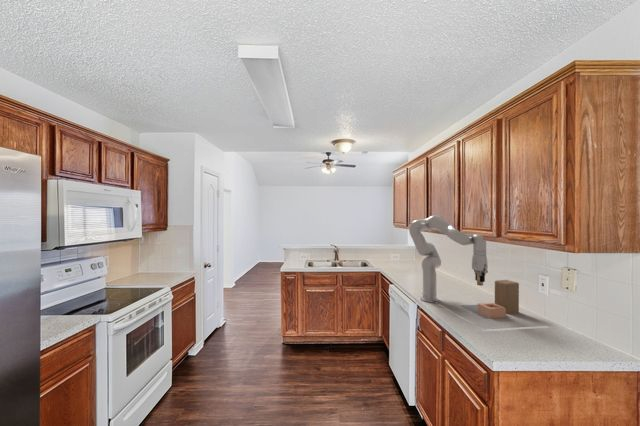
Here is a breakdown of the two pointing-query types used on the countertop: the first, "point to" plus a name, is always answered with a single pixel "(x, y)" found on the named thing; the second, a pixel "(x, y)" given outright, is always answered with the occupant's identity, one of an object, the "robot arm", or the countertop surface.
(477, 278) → the birch dowel
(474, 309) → the charcoal mat
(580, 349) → the countertop surface
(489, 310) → the terracotta box
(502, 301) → the wooden block
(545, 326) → the countertop surface
